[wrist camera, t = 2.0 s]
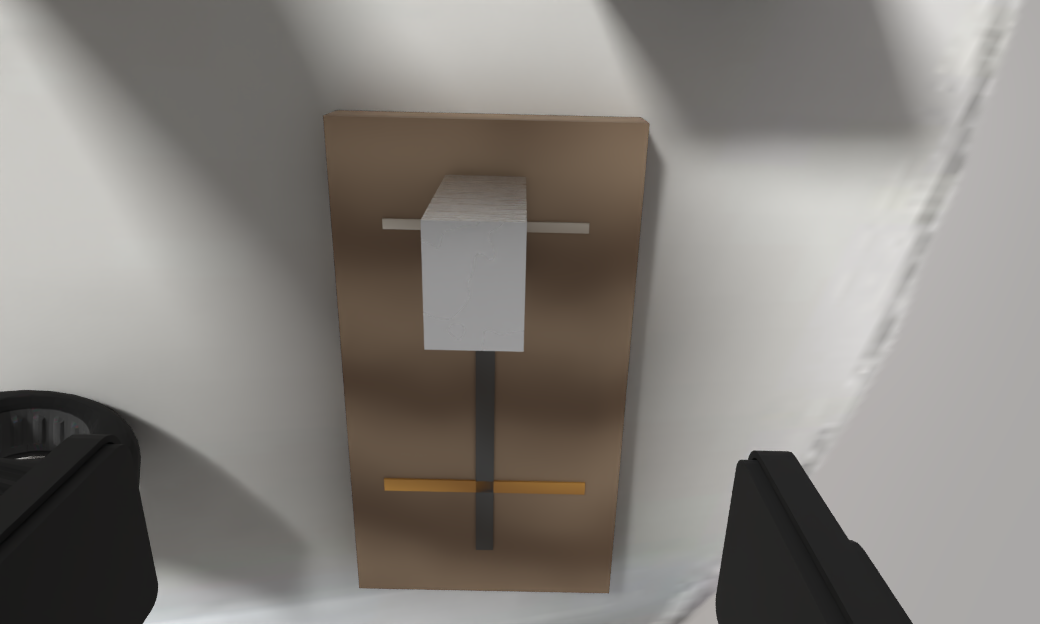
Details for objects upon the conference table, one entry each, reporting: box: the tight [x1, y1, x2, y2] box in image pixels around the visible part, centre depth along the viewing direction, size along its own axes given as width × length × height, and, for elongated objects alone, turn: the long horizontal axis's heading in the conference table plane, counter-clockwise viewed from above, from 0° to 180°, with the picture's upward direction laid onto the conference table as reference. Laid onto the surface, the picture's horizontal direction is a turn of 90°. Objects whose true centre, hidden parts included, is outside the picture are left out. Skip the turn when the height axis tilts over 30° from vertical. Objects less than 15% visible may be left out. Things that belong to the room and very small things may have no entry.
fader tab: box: [420, 175, 527, 352], centre depth 24 cm, size 4×3×7 cm
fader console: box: [323, 110, 649, 593], centre depth 31 cm, size 22×12×2 cm, turn 179°
